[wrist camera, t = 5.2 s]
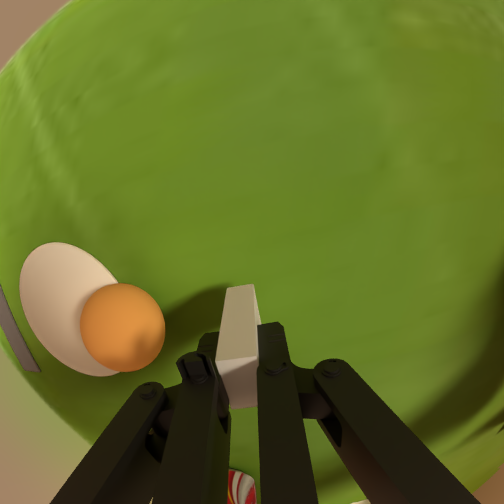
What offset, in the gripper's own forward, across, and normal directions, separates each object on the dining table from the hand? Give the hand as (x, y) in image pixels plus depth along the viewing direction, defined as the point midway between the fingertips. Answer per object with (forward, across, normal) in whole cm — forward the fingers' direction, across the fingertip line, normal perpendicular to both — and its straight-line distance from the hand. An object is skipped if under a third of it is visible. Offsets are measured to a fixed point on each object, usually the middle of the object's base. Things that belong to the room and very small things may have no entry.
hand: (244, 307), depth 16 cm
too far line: (+2, +24, 0) cm, 24 cm away
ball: (-1, +8, 0) cm, 8 cm away
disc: (+2, +14, 0) cm, 14 cm away
